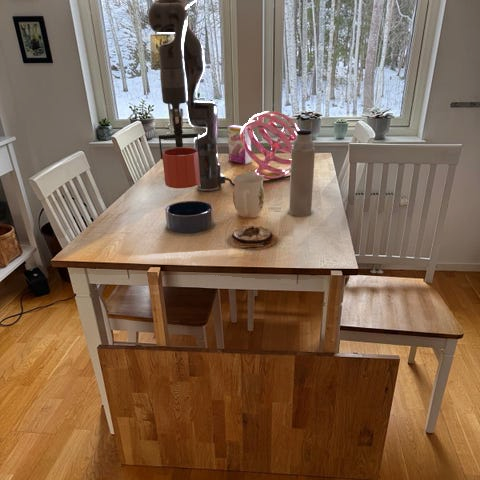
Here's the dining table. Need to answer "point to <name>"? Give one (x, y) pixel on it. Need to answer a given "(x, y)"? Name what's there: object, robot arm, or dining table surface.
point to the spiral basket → (270, 141)
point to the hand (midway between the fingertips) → (179, 146)
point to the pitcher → (248, 194)
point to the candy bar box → (238, 145)
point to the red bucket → (181, 164)
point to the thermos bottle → (302, 174)
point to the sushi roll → (254, 237)
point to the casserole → (189, 217)
